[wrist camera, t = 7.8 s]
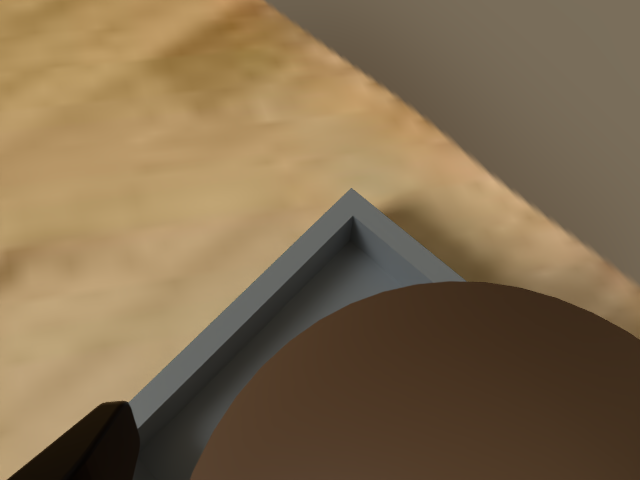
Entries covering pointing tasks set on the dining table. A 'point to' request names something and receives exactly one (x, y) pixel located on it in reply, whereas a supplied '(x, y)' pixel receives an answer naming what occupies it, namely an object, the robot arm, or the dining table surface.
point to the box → (273, 326)
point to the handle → (440, 394)
